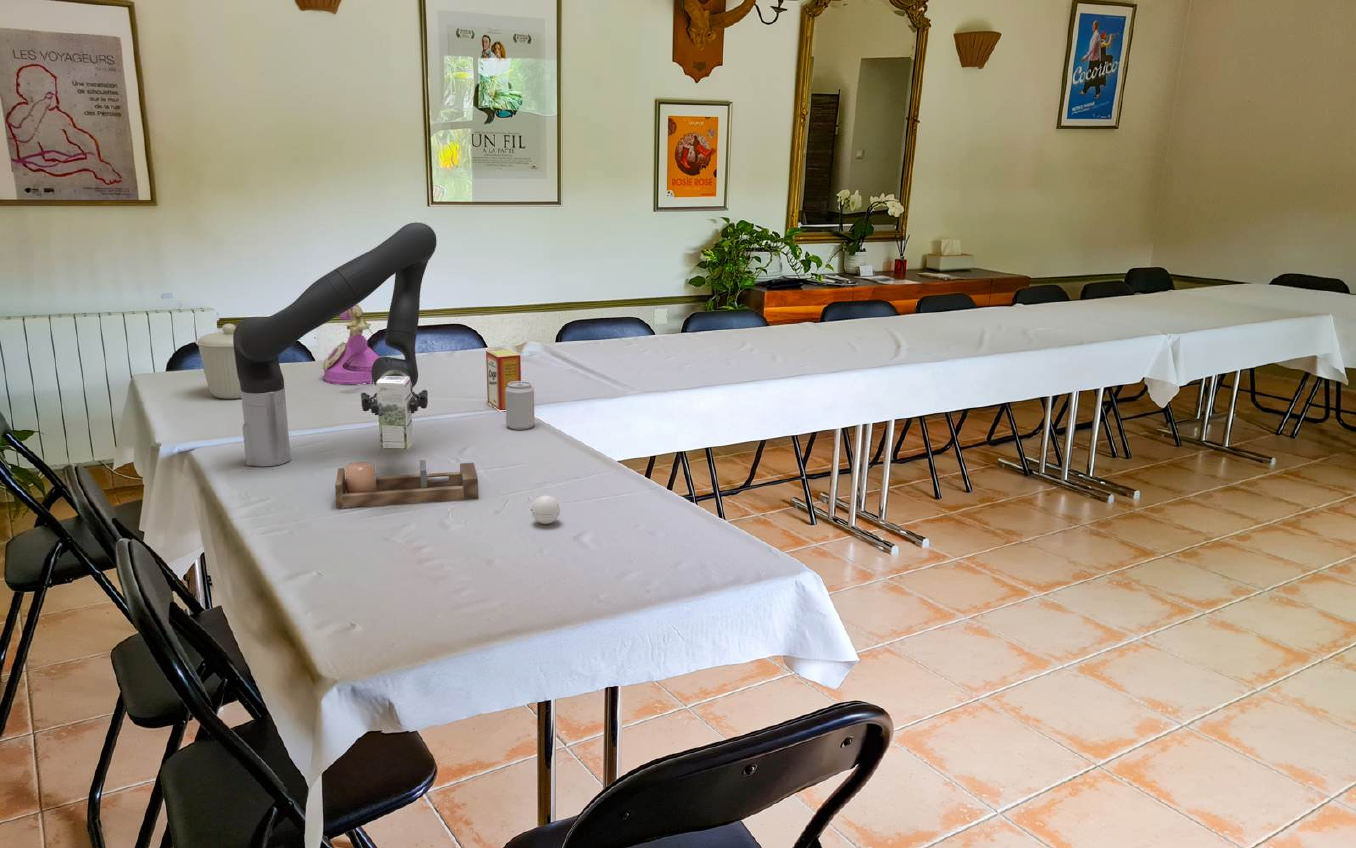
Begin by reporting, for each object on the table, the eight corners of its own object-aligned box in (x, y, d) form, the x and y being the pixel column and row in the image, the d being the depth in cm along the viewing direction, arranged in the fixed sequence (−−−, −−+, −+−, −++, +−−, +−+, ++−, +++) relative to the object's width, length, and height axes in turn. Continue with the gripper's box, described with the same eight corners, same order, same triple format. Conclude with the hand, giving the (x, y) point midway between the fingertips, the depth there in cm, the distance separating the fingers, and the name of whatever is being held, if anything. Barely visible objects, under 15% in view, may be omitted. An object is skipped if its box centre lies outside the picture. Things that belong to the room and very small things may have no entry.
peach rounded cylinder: (346, 503, 200) (344, 471, 198) (347, 494, 205) (345, 462, 203) (376, 501, 201) (374, 469, 199) (377, 492, 207) (375, 460, 205)
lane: (336, 508, 197) (335, 485, 195) (340, 490, 207) (338, 468, 206) (478, 498, 204) (477, 476, 203) (474, 481, 215) (473, 460, 213)
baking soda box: (487, 404, 280) (486, 349, 276) (509, 401, 283) (507, 347, 279) (499, 412, 272) (498, 355, 268) (521, 409, 275) (520, 353, 271)
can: (507, 431, 253) (506, 386, 250) (504, 424, 260) (503, 380, 257) (536, 430, 255) (535, 385, 252) (532, 422, 262) (532, 379, 259)
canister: (252, 403, 275) (245, 330, 269) (189, 401, 275) (181, 328, 270) (279, 388, 292) (273, 319, 287) (219, 387, 293) (212, 317, 287)
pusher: (421, 497, 203) (420, 470, 201) (421, 487, 209) (419, 460, 208) (450, 495, 205) (448, 468, 203) (448, 485, 211) (447, 458, 209)
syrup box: (414, 442, 205) (410, 375, 201) (407, 450, 200) (403, 382, 196) (386, 441, 205) (382, 374, 201) (379, 450, 199) (375, 381, 195)
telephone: (319, 372, 315) (313, 295, 308) (390, 367, 324) (385, 292, 318) (331, 397, 284) (325, 312, 277) (410, 391, 293) (405, 308, 287)
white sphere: (546, 515, 196) (546, 489, 194) (566, 522, 192) (566, 496, 191) (517, 526, 190) (516, 499, 188) (537, 533, 186) (537, 506, 185)
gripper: (359, 374, 210) (356, 393, 195) (427, 371, 214) (430, 390, 199) (361, 408, 212) (358, 429, 197) (429, 404, 216) (431, 425, 201)
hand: (394, 409), depth 198 cm, fingers closed on syrup box, 6 cm apart
